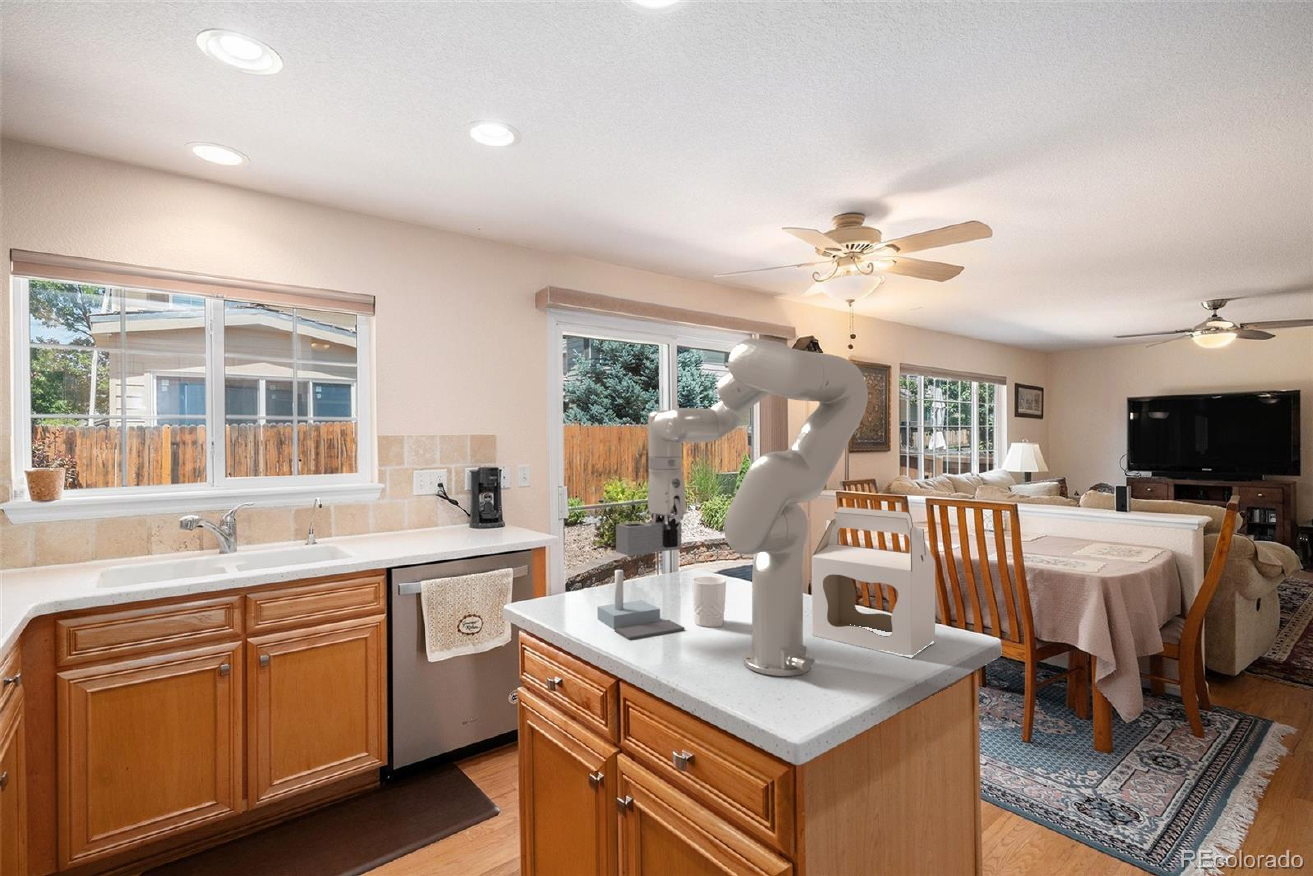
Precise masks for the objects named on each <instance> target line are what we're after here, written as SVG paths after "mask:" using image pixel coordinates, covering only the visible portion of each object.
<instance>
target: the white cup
mask: <svg viewBox="0 0 1313 876" xmlns="http://www.w3.org/2000/svg"><path fill="white" fill-rule="evenodd" d="M691 583H692V602H693V603H692V604H693V612H694V613H693V617H694V619H693V620H694V623H695V625H697V626H700V627H706V628H714V627H715V628H716V627H720V626H722V625H723V624H724V622H725V609H726V607H725V606H726V596H727V595H726V592H727V590H726V589H727V580H726V579H725V578H722V577H719V576H718V577H717V576H698V577H695V578H693V579H692V580H691Z"/></svg>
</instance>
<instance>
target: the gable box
mask: <svg viewBox="0 0 1313 876" xmlns="http://www.w3.org/2000/svg"><path fill="white" fill-rule="evenodd" d="M825 521H826V523H825V531H824V533H823V536H822V537H821V539H820V541H819V543H818V545H817V547H816V549H815V551H814V553H813V555H812V556H811V582H812V583H811V594H812V595H811V602H812V603H811V634H812V636H813V637H818V638H821V639H826V640H831V641H834V642H838V643H842V642H843V643H842V644H846V643H847V644H846V645H850V644H852V645H851V646H855V645H856V647H859V646H864V647H867V648H872V649H876V650H884V651H890V652H894V653H898V654H903V655H914V654H916V653H917V652H918V651H919V650H922V649H923V648H924V647H925V646H928V645H929V644H930V643H931V642H932V641H935V642H936V560H935V558H934V557H933V554H932V553H931V551H930V548H929V547H928V545H927V543H926V541H925V540H926V539H925V529H924V528H918V527H916V526H914V524H913V518H912V515H911V513H909V511H899V510H898V511H897V510H884V509H876V508H875V509H873V508H859V507H851V506H850V507H848V506H839V507H838V508H837V509H836V512H834V519H826V520H825ZM841 528H842V529H851V530H852V529H853V530H862V531H868V532H869V531H870V532H882V533H889V534H890V533H891V534H900V535H902V536H904V535H905V536H907V538H908V541H909V552H904V551H896V550H888V549H880V548H872V547H871V548H870V547H865V546H864V547H863V546H857V545H847V544H841V541H840V540H841V539H840V538H841V536H840V529H841ZM853 580H856V581H858V582H859V581H860V582H863V583H867V584H868V583H869V584H870V583H872V584H873V583H874V584H876V583H877V584H885V585H889V586H891V587H893V588H894V589H895V590H896V592H897V599H896V603H895V605H894V607H893V609H892V612H891V614H886V613H864V612H860V611H858V609H857V607H856V599H857V591H856V587H855V585H854V582H853ZM850 624H851V625H850ZM854 625H855V626H854ZM859 626H861V627H859ZM862 627H869V628H872V629H877V630H881V631H885V632H892V634H891V635H890V636H882V635H878V634H876V633H874V632H873V631H870V630H867V629H865V628H862ZM867 648H866V649H867ZM876 650H875V651H876Z"/></svg>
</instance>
